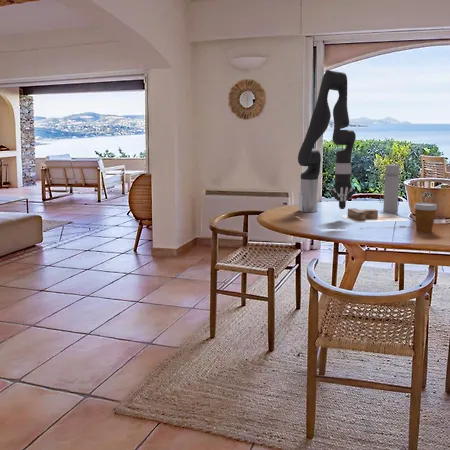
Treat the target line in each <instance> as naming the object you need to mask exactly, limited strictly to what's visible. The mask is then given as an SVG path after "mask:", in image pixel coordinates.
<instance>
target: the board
mask: <svg viewBox="0 0 450 450" xmlns="http://www.w3.org/2000/svg"><path fill="white" fill-rule="evenodd" d="M338 216H339V217H341V218H343V219H346V220H348V221H350V222H352V223H354V224H355V223H381V222H383V223H384V222H410V221H411V220H410V219H407V218H404V217H401V216H398V215H395V214H394V213H378V219H366V220H365V221H357V220H354V219H352V218H350V217H348V214H345V215H344V214H341V215H338Z"/></svg>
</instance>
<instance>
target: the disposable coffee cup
mask: <svg viewBox="0 0 450 450" xmlns="http://www.w3.org/2000/svg"><path fill="white" fill-rule="evenodd" d="M413 207H414V214H415V227H416V228H415V229H416V230H415V231H416V232H419V233H432V231H433V227H434V221H435V216H436V212H437V209H438V207H437V204H436V203H433V202H415V204H414V206H413Z"/></svg>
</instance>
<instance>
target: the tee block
mask: <svg viewBox="0 0 450 450" xmlns="http://www.w3.org/2000/svg"><path fill="white" fill-rule="evenodd" d="M378 214H379V210H377V209H376V208H371V209H367V208H364V209H358V208H356V207H355V208H351V207H350V208H347V215H348V217H350V218H352V219H354V220H357V221H365V220H366V219H378Z"/></svg>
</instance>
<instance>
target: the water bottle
mask: <svg viewBox="0 0 450 450" xmlns="http://www.w3.org/2000/svg"><path fill="white" fill-rule="evenodd" d="M400 172H401V171H400V165H399V164H386V165H385V171H384V174H383V175H382V176H383V179H382V180H384V183H382V185H381V186H384V187H382V189H380V190H381V191H380V192H382V190H383V194H380V196H379V198H381V196H382V201H381V200H379V201H380V202H379V203H380V204H382V203H383V208H382V209H383V210H382V211H385V212H389V213H390V214H396V213H398V208H399V207H398V206H399V205H398V204H399V189H400Z"/></svg>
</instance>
